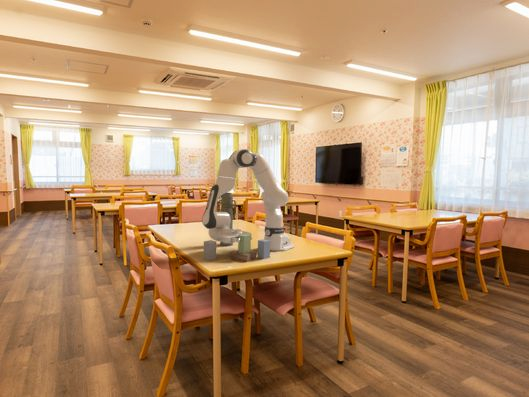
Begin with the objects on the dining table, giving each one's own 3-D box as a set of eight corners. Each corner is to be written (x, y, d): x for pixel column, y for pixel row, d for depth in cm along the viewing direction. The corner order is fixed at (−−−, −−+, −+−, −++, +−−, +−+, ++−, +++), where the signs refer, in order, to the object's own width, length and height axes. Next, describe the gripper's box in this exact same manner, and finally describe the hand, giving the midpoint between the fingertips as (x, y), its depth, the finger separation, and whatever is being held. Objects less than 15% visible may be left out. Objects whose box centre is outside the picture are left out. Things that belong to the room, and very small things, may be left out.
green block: (244, 250, 200) (244, 233, 199) (250, 252, 197) (250, 235, 196) (237, 252, 197) (238, 234, 196) (243, 253, 193) (244, 236, 192)
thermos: (236, 245, 230) (236, 193, 227) (218, 246, 228) (218, 193, 225) (234, 243, 239) (235, 192, 236) (217, 243, 236) (218, 192, 234)
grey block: (210, 257, 198) (210, 240, 197) (216, 259, 194) (216, 241, 194) (203, 258, 194) (203, 241, 193) (209, 260, 191) (209, 242, 190)
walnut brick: (241, 256, 205) (241, 249, 204) (256, 258, 200) (256, 251, 200) (231, 260, 194) (231, 253, 193) (247, 262, 190) (247, 255, 189)
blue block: (263, 256, 204) (263, 239, 203) (269, 257, 200) (270, 240, 200) (257, 257, 200) (257, 240, 199) (263, 259, 197) (264, 241, 196)
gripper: (215, 232, 197) (231, 236, 188) (241, 229, 212) (257, 232, 203) (215, 243, 198) (231, 247, 188) (241, 239, 213) (257, 242, 203)
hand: (245, 239), depth 196 cm, fingers open, 7 cm apart
